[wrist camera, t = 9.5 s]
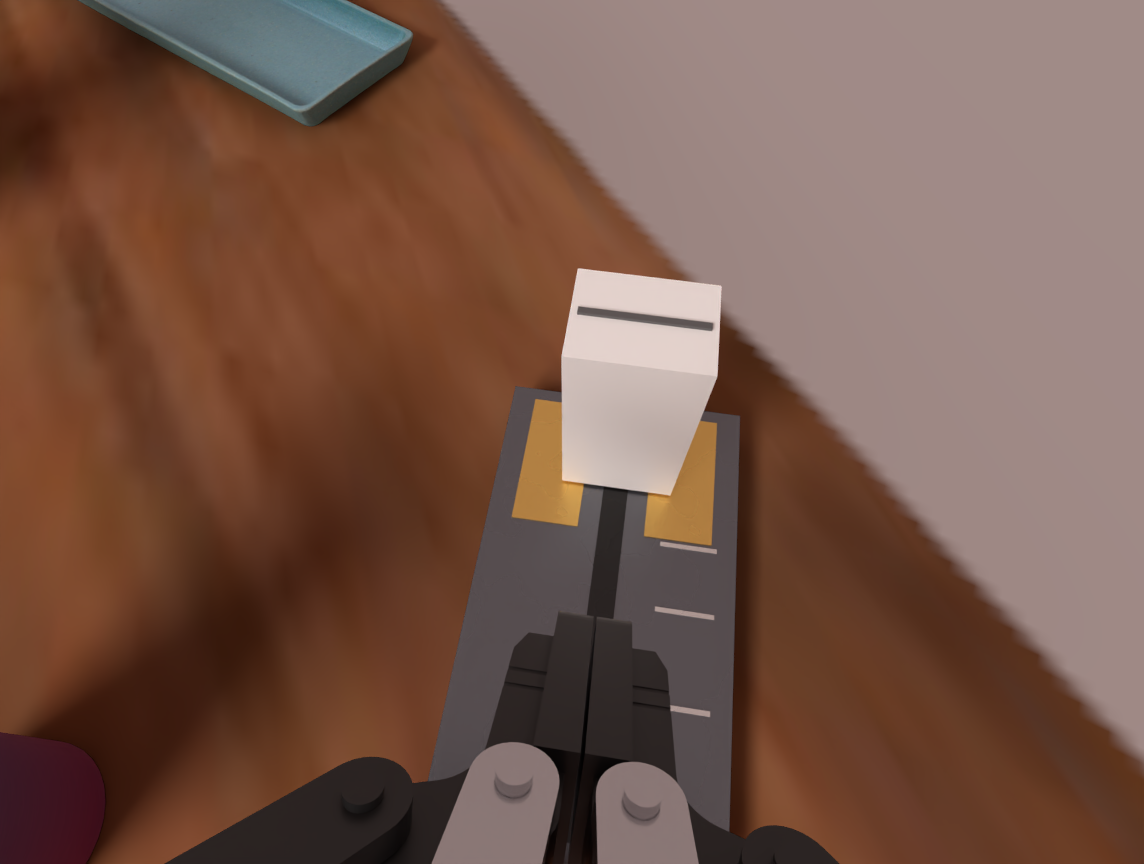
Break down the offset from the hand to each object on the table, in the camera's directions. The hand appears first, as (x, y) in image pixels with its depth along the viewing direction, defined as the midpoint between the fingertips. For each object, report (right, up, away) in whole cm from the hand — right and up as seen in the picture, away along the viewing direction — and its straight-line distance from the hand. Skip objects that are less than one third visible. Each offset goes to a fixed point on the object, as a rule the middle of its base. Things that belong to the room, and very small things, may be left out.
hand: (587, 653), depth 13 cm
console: (+1, -2, +10) cm, 10 cm away
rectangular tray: (-23, +30, +28) cm, 47 cm away
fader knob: (+2, +4, +11) cm, 12 cm away
